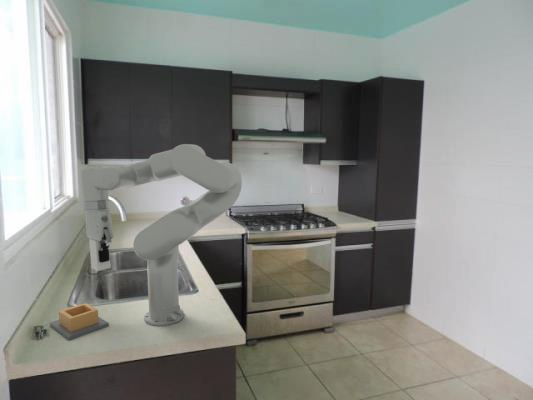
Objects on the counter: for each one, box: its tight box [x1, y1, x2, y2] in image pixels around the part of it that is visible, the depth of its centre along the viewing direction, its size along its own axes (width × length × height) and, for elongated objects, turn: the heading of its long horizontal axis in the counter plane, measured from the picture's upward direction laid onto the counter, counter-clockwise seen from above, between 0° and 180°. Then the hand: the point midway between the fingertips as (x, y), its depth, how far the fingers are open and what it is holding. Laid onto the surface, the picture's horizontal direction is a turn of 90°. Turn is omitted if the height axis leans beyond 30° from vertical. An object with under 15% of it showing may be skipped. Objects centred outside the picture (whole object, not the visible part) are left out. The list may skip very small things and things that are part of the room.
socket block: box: [49, 302, 110, 341], centre depth 119 cm, size 14×12×5 cm
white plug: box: [88, 238, 112, 272], centre depth 125 cm, size 4×4×10 cm
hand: (100, 259), depth 125 cm, fingers closed on white plug, 4 cm apart
